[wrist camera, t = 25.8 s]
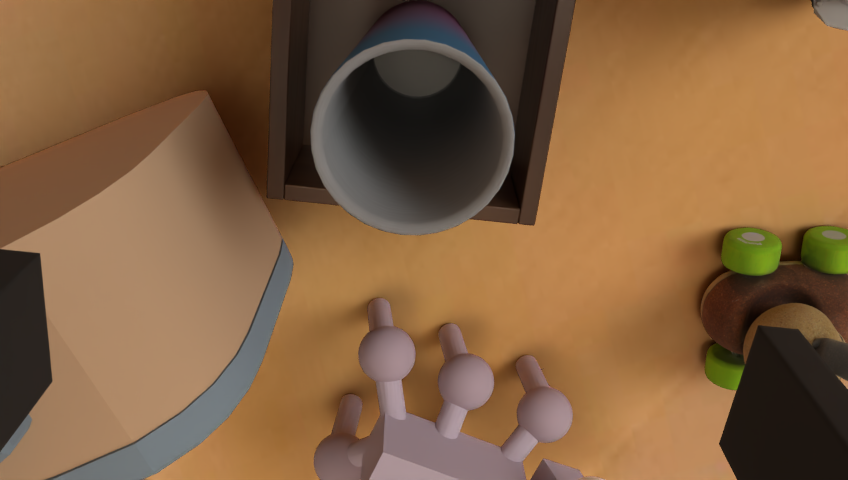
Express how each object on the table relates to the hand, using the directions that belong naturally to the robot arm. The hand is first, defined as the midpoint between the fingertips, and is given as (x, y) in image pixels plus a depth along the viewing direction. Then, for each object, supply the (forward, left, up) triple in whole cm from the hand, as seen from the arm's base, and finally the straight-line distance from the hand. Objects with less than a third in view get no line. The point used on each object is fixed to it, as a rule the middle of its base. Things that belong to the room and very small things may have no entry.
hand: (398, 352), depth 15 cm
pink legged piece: (+7, -21, -29) cm, 36 cm away
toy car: (+22, -12, -29) cm, 38 cm away
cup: (0, 0, -28) cm, 28 cm away
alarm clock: (-16, -11, -29) cm, 35 cm away
